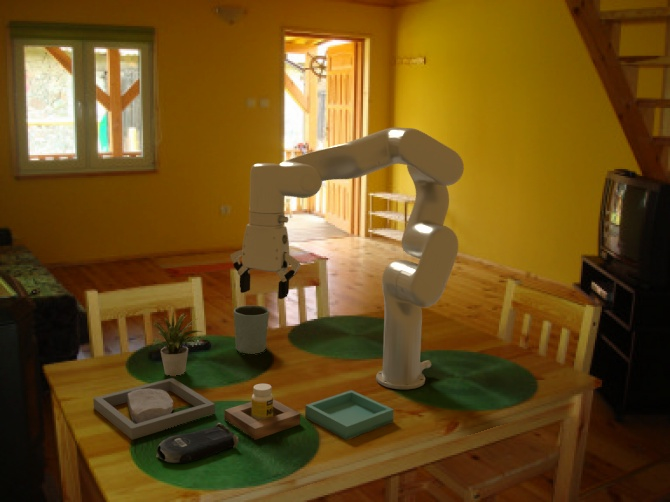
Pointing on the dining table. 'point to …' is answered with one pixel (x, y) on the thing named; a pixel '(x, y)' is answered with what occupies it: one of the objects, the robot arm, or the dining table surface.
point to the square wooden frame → (259, 429)
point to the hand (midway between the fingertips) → (263, 294)
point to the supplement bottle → (262, 402)
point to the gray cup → (251, 328)
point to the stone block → (149, 404)
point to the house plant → (174, 346)
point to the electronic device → (196, 444)
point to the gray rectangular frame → (158, 424)
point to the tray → (349, 414)
